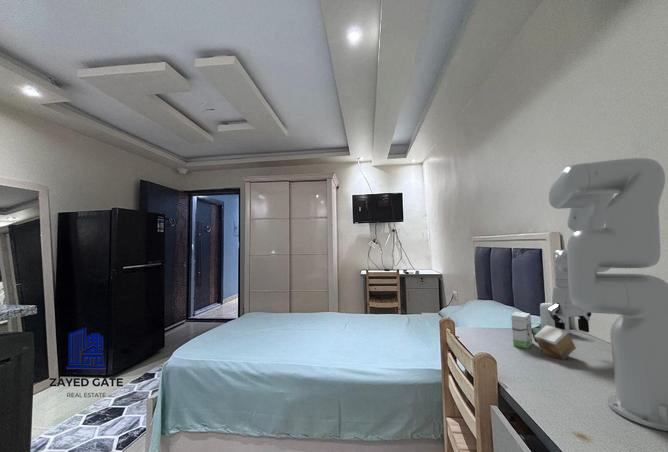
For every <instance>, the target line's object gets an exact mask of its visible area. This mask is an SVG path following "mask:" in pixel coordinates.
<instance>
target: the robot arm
mask: <svg viewBox="0 0 668 452" xmlns="http://www.w3.org/2000/svg"><path fill="white" fill-rule="evenodd" d="M665 173H666V172H665V171H664V168H663V166H662V165H661V164H660V163H659V162H658V161H656V160H654V159H651V158H646V157H645V158H643V157H635V158H619V159H612V160H611V159H610V160H603V161H594V162H586V163H585V162H584V163H583V162H582V163H577V164H571V165H569V166H568V167H566V168H564V169H563V171H561V173H560V174H559V176H557V177H556V178H555V180H554V181H553V183H552V185H551V187H550V189H549V193H548V202H549V204H550V206H551V207H552V208H554V209H559V210H560V209H569V216H568V220H567V227H568V228H569V229H570V230H571V231H572V232H573V233H572V234H571V235H570V237H569V239H568V241H567V244H566V245H567V246H566V249H556V250H555V251H554V252H553V253H552V254H553V255H552V256H553V258H552V259H553V270H554V271H553V272H554V283H555V284H554V285H555V286H554V287H553V290H552V299H551V303H552V307H551V308H549V309H548V312H549V314H550V316H551V318H552V319H553V320H554V321H555V328H559V329H563V330H565V323H563V321H564V319H565V318H566V317H569V318H574V317H575V318H576V317H578V318H577V324H578V325H577V327H578V330H579V331H580V332H584V333H590V327H589V326H590V325H589V323H590V319H591V318H590V317H591V316H592V313H593V314H607V315H618V317H617V318H616V320H614V322H613V324H612V325H611V328H610V343H611V346H610V347H611V352H612V353H611V355H612V364H613V372H614V373H613V376H614V386H615V394H614V395H610V396H609V397H608V398H607V404H608V406H609V408H611V410H613V411H614V412H615V413H617V414H618V415H620V416H622V417H624V418H625V419H628V420H630V421H632V422H635V423H636V424H640V425H643V426H645V427H649V428H652V429H656V430H658V431H659V430H660V431H664V432H668V282H666V281H665V280H663V279H662V278H660V277H657V276H654V275H650V274H644V273H620V272H619V273H605V272H608V271H609V270H610V269H645V268H646V269H647V268H651V267H653V266H655V265H657V264H658V263H659V261H660V258H661V233H660V232H661V231H660V215H659V214H660V213H659V206H660V203H661V199H662V198H661V197H662V195H663V192H664V188H665V184H666V175H665ZM615 194H616V195H615ZM559 316H561V317H560V318H559Z"/></svg>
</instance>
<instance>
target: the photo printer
mask: <svg viewBox="0 0 668 452" xmlns="http://www.w3.org/2000/svg"><path fill="white" fill-rule="evenodd" d="M551 307H552V302H542V303H540V305H539V314H540V315H539V318H540V329H543V328H544V327H545V326H546V325H547V326H551V327H555V321H554V320H553V319H552V318H551V316H550V314H549V312H548V309H549V308H551ZM560 317H561V316H559V318H560ZM569 318H570V317H566V318H565V319H564V321H563V323H565V330H567V331H568V333H569V334H570V319H569Z"/></svg>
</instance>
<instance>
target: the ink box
mask: <svg viewBox="0 0 668 452" xmlns="http://www.w3.org/2000/svg"><path fill="white" fill-rule="evenodd" d="M510 317H511V330H512V343H513V346H514V347H518V348H522V349H523V348H524V349H529V348H530V347H531V345H532V344H533V335H532V330H531V329H532V320H531V319H532V318H531V313H527V312H524V311H523V312H522V311H515V312H513V313H512V314H511V316H510Z"/></svg>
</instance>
